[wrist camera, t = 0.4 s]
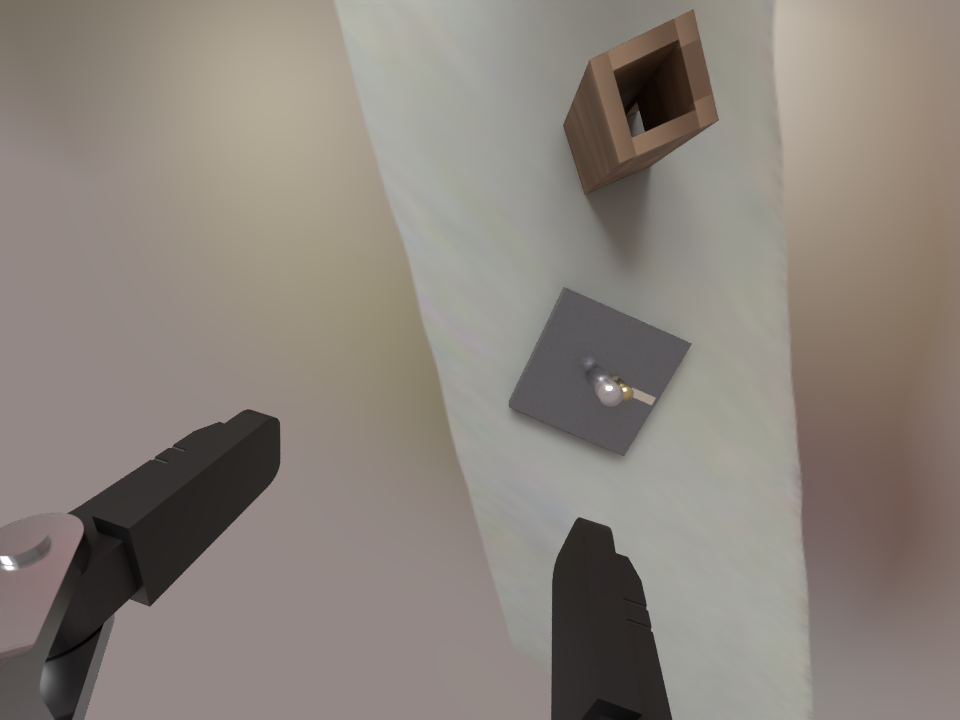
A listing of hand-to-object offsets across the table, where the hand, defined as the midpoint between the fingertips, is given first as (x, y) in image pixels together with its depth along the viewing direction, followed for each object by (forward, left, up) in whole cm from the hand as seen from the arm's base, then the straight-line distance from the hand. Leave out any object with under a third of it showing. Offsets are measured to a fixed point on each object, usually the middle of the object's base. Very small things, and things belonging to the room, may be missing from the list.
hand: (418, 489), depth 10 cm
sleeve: (-16, +8, -26) cm, 32 cm away
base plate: (+3, +11, -26) cm, 28 cm away
